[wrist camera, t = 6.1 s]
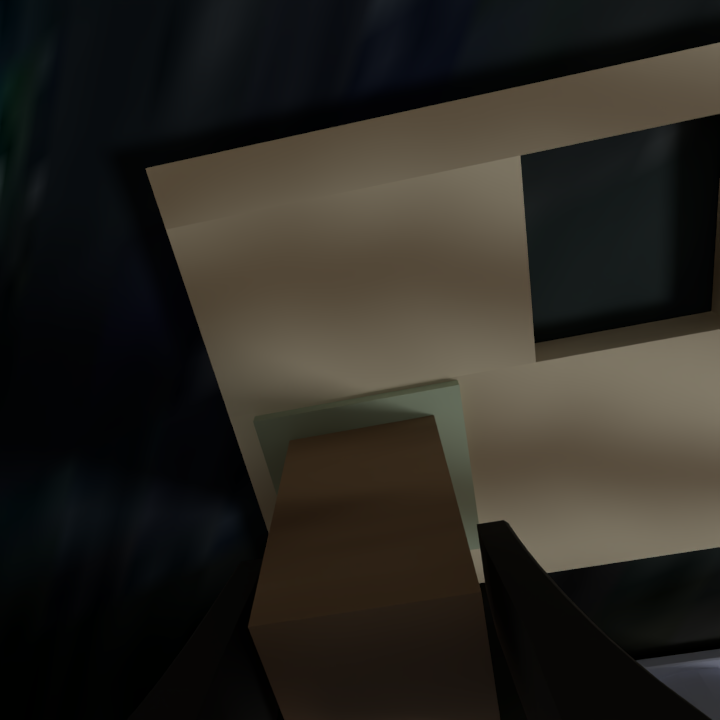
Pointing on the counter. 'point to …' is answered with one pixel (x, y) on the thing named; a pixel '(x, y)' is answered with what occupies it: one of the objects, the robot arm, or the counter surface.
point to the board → (456, 314)
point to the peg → (372, 583)
